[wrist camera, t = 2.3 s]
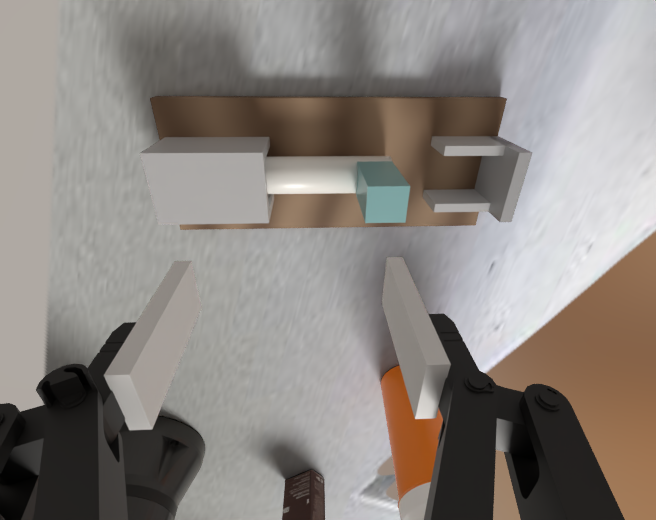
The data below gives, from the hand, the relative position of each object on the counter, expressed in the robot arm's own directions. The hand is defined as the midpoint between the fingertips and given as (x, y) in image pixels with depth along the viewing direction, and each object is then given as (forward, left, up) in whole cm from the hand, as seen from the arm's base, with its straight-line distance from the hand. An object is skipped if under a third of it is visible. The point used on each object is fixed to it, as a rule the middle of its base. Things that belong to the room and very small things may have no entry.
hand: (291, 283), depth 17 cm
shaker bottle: (+14, -31, -20) cm, 39 cm away
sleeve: (-7, 0, -18) cm, 20 cm away
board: (+3, 0, -19) cm, 20 cm away
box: (-1, -56, -20) cm, 59 cm away
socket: (+15, 0, -18) cm, 24 cm away
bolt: (-2, 0, -18) cm, 18 cm away
